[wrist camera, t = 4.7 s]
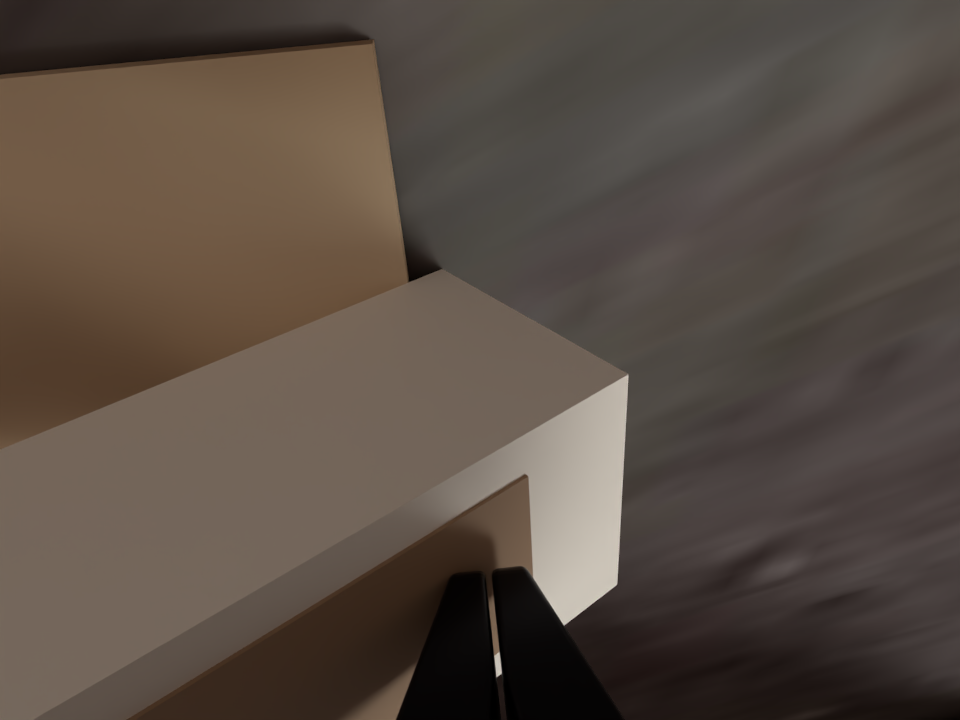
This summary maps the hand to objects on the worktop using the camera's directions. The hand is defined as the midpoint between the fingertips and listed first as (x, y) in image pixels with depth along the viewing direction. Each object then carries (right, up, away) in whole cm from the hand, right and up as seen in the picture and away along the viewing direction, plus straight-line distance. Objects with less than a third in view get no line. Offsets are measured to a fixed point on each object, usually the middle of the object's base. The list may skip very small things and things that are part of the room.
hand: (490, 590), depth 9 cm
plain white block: (+1, +2, +3) cm, 3 cm away
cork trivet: (-6, +2, +4) cm, 8 cm away
